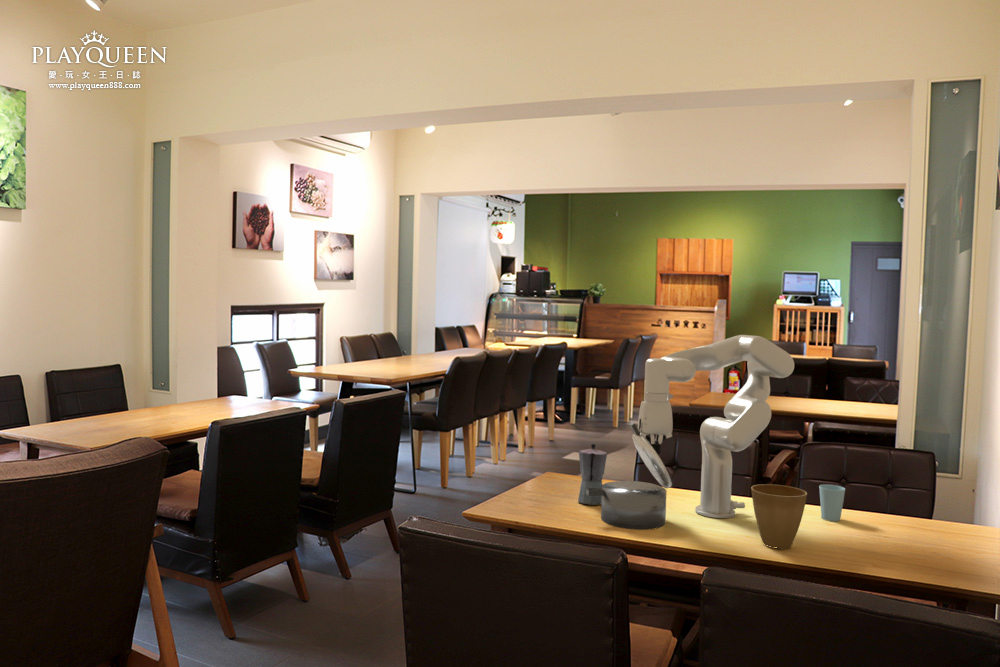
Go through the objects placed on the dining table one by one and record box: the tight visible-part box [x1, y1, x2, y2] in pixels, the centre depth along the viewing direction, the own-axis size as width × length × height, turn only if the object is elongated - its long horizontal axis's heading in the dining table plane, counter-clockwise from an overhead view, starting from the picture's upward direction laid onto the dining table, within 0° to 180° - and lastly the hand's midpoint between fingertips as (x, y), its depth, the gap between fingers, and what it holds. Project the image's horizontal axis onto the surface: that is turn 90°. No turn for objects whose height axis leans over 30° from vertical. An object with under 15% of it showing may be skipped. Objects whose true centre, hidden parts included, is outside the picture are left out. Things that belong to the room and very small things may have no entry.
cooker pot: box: [586, 480, 668, 531], centre depth 228 cm, size 25×20×10 cm
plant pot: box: [750, 483, 808, 549], centre depth 207 cm, size 15×15×16 cm
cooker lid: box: [628, 421, 673, 490], centre depth 229 cm, size 23×20×3 cm
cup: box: [818, 484, 846, 522], centre depth 236 cm, size 8×8×10 cm
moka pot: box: [577, 443, 608, 506], centre depth 247 cm, size 10×15×20 cm, turn 174°
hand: (654, 455), depth 229 cm, fingers closed
